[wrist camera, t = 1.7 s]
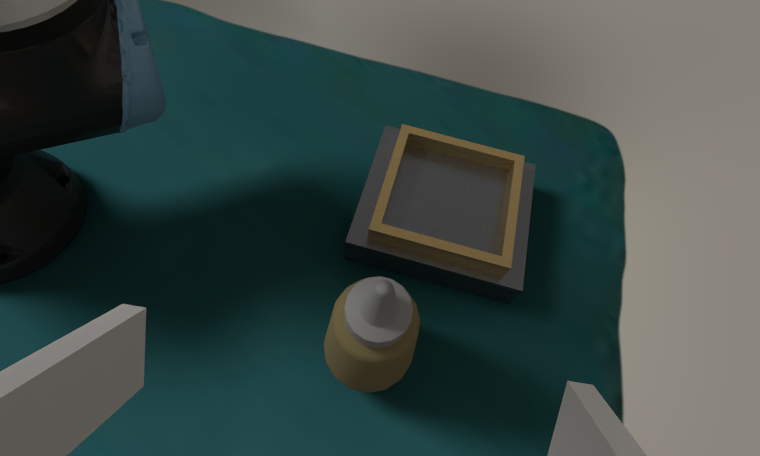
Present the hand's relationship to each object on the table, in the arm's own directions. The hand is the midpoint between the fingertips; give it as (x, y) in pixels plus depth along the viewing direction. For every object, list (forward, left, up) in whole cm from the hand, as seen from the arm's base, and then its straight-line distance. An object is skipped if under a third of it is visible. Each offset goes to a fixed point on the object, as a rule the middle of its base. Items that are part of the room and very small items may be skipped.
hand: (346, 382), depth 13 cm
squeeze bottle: (0, +7, -28) cm, 29 cm away
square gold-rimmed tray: (+4, +24, -28) cm, 37 cm away
